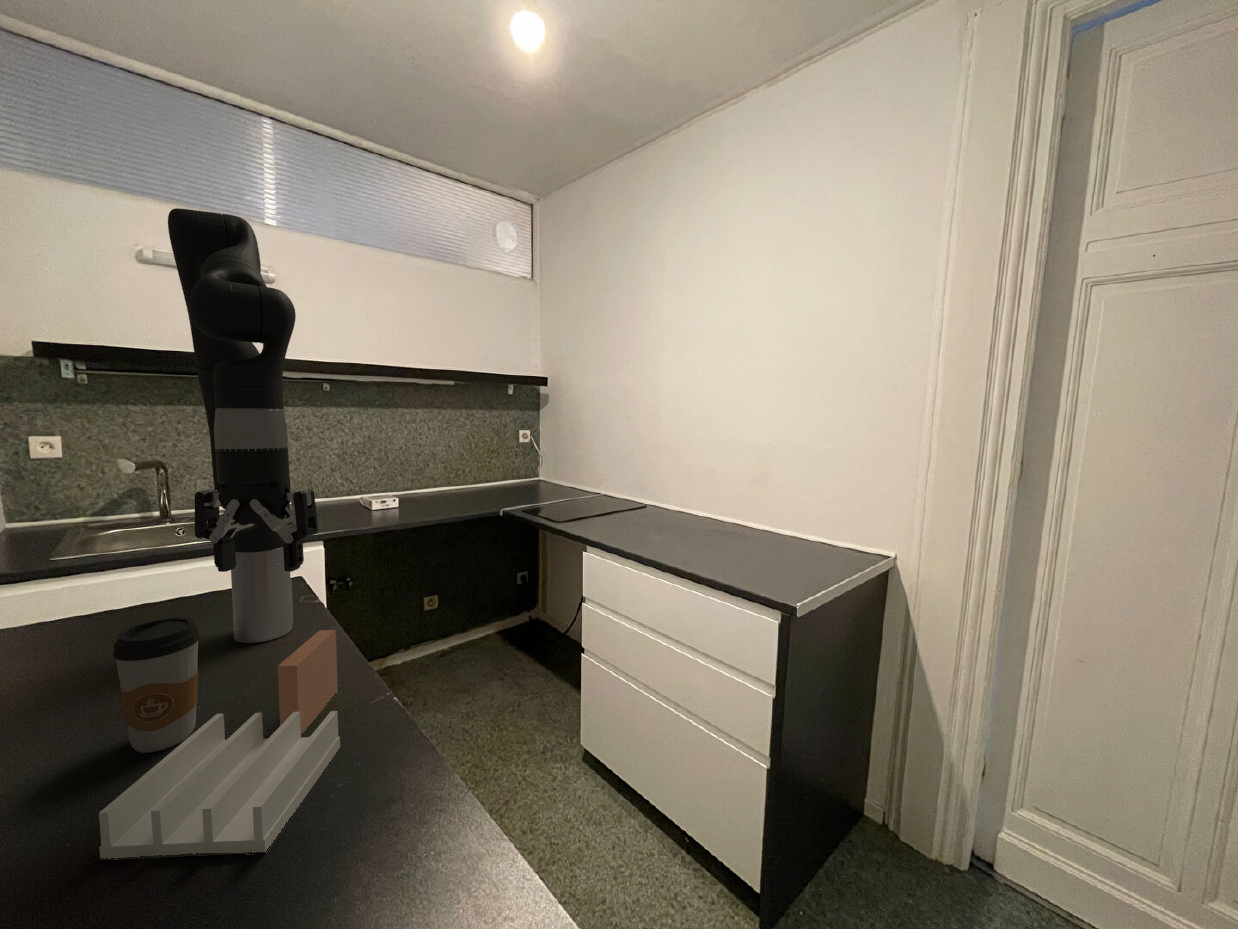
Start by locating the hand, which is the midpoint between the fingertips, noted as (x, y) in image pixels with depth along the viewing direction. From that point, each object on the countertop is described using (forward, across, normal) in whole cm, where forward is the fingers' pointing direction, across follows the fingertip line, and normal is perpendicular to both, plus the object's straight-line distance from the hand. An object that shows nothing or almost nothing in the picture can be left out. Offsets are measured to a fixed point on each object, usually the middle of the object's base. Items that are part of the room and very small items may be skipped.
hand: (259, 570), depth 66 cm
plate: (+23, -2, -6) cm, 23 cm away
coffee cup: (+23, +13, +1) cm, 26 cm away
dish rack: (+23, -4, +10) cm, 25 cm away
